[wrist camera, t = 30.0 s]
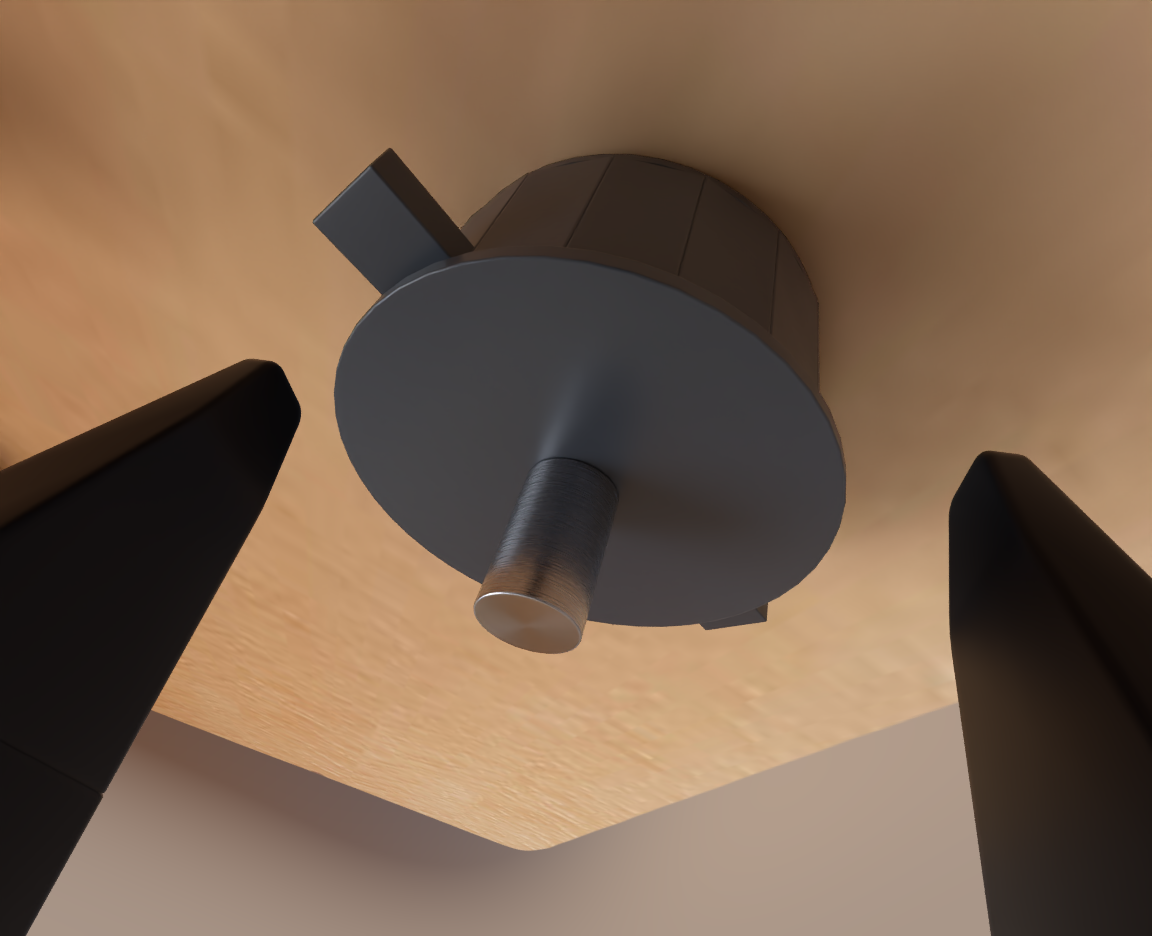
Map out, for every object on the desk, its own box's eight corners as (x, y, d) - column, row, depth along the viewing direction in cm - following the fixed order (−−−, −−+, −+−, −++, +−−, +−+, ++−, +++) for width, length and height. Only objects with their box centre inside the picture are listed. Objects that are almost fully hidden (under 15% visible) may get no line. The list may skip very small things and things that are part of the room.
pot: (624, 537, 30) (592, 662, 26) (320, 220, 21) (199, 329, 17) (910, 461, 23) (932, 619, 18) (621, -69, 14) (538, -3, 10)
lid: (599, 634, 25) (564, 771, 22) (286, 424, 20) (176, 557, 17) (959, 511, 16) (1000, 717, 12) (542, 72, 11) (417, 210, 8)
